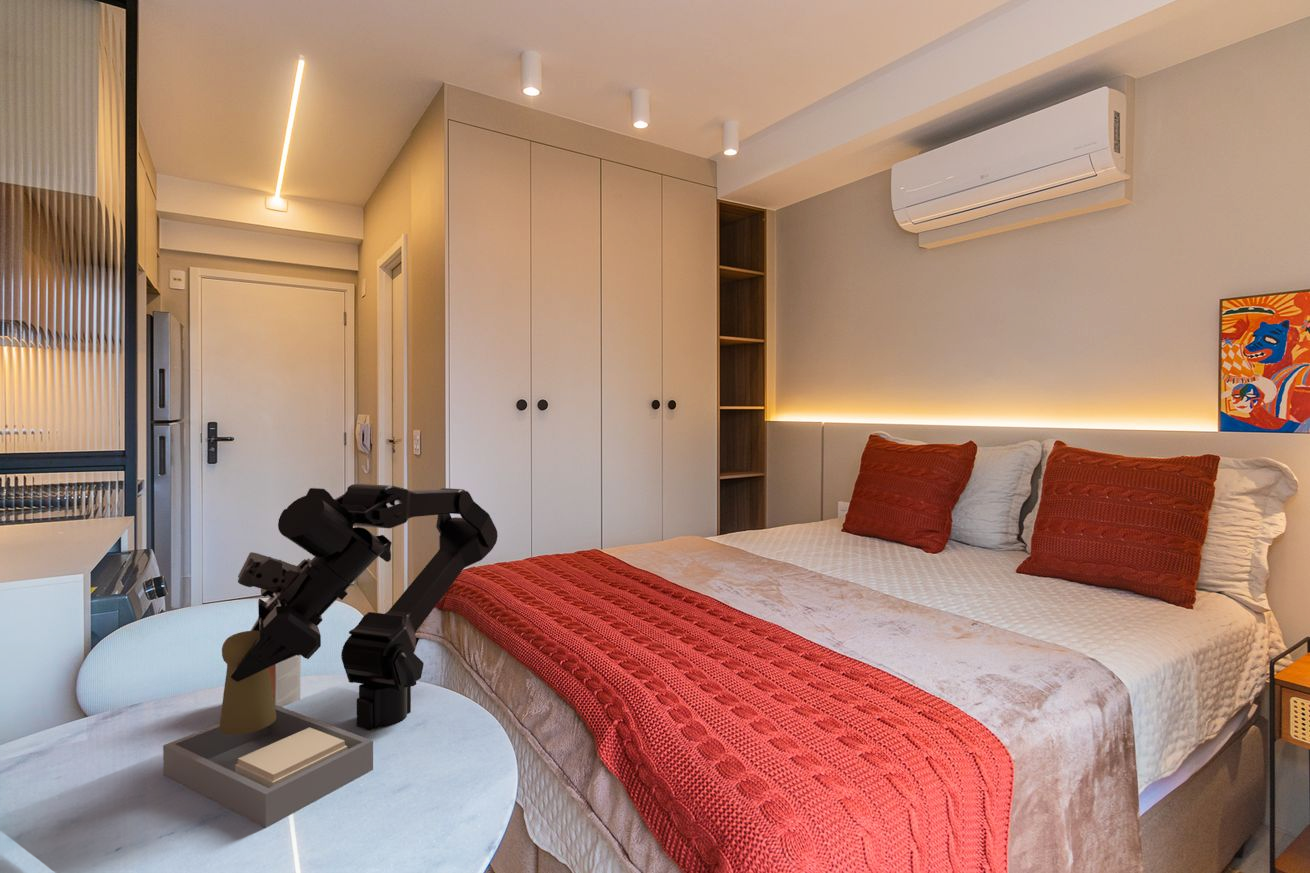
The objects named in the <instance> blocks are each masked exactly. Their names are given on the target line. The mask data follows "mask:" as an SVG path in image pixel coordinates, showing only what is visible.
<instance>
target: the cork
mask: <svg viewBox="0 0 1310 873" xmlns="http://www.w3.org/2000/svg"><path fill="white" fill-rule="evenodd" d="M259 635H260V631H255V630H254V631H251V630H246V631H241V632H237V633H234V634H232V635H230V636H229V637H227V638H226V639H225V641H224V642H223V644H222V646H221V647H222V648H221V657H222V660H223V662H225V664H226V672H225V673H226V674H225V679H224V680H225V681H224V687H223V688H224V689H223V696H222V702H221V703H222V704H221V710H220V711H221V712H220V718H219V724H220V725H219V730H220V731H221V732H222V733H225V734H231V735H238V734H246V733H251V732H255V731H258V730H261V729H263V728H265V727H267V726H269V725H271V724H272V723H273V722H274V721H275V720H276V718H277V716H276V710H275V704H274V698H273V692H272V686H271V681H270V675H269V669H268V668H266V669H264V670H262V671H260V672H258V673H256V674H254V675H251V676H249V677H247V678H245V679H243V680H241V681H239V682H237V681H235V680H233V679H232V678H231V674H232V673H233V671H234V670H235V669H236V667H237V666H238V664H239V663H240V662H241V660H242V659H243V658H244V656H245V655H246V654H247V652H248V651H249V649H250V648H251V647H252V645H253V644H254V643H255V641H256V640H257V639H258V637H259ZM227 664H228V665H227Z"/></svg>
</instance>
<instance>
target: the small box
mask: <svg viewBox="0 0 1310 873" xmlns="http://www.w3.org/2000/svg"><path fill="white" fill-rule="evenodd" d="M301 660H302V656H301V655H299V656H298V655H296V656H293V657H291V658H289V659H286V660H284V661H282V662H279V663H277V664H275V665H273V666H271V667H268V669H269V675H270V681H271V686H272V692H273V698H274V704H275V705H277V706H280V707H283V708H284V707H285V706H288V705H291V704H293V703H296V702H298V701H300V700H301V684H302V683H301V674H302V673H301V671H302V670H301V669H302V667H301V666H302V665H301V664H302V661H301ZM227 665H228V664H227V663H226V666H227Z"/></svg>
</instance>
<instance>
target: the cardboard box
mask: <svg viewBox="0 0 1310 873" xmlns="http://www.w3.org/2000/svg"><path fill="white" fill-rule="evenodd" d="M345 750H347V746H346V745H345V741H344V740H342V739H339V738H336V737H334V736H331V735H329V734H326V733H323V732H321V731H318V730H315V729H313V728H310V727H309V728H307V729H305V730H302V731H300V732H298V733H295V734H293V735H291V736H289V737H286V738H284V739H282V740H279V741H277V742H275V743H272V744H270V745H268V746H266V747H263V748H261V749H259V750H256V751H254V752H252V753H249V754H247V755H245V756H243V757H240V758H238V764H236V765H235V773H237V774H239V775H242V776H244V777H246V778H248V779H250V780H252V781H254V782H256V783H259V784H261V785H263V786H265V787H267V788H270V787H272V786H274V785H276V784H278V783H280V782H283V781H285V780H287V779H289V778H291V777H293V776H295V775H297V774H299V773H301V772H303V771H305V770H307V769H309V768H311V767H313V766H315V765H317V764H319V763H321V762H323V761H325V760H327V759H329V758H331V757H333V756H335V755H337V754H339V753H341V752H343V751H345Z"/></svg>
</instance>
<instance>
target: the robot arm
mask: <svg viewBox="0 0 1310 873" xmlns="http://www.w3.org/2000/svg"><path fill="white" fill-rule="evenodd" d="M451 514H453V515H460V516H458V517H455V516H454V517H452V516H451ZM427 516H437V518H436V525H435V528H436V530H437V531H438V533H439V536H438V540H439V547H438V548H439V549H438V551H437V552H436V553H435V554H434V556H433V557H432V558H431V559H430V560H429V561H428V563H427V564H426V565H425V566H424V568H423V569H422V570H421V571H420V573H419V574H418V575H417V576H416V577H415V579H414V580H413V581H412V582H411V584H410V585H408V587H407V588H406V589H405V591H404V592H402V594H401V595H400V597H399V598H398V599H397V600H396V601H395V602H394V603H393V605H392V606H391V608H389V610H388V611H386V612H385V613H381V612H374V611H369V612H367V613H366V614H364V615H363V617H362V618H361V620H360V621H359V623H358V624H357V625H356V626H355V627H354V628H353V629H351V630H349V631H348V634H349V636H348V638H347V639H346V640H345V642H344V644H343V646H342V650H341V656H340V658H341V662H342V665H343V668H344V671H345V674H346V677H347V680H348V682H349V683H351V684H354V683H356V684H359V685H358V697H357V698H356V727H357V728H360V729H363V730H366V731H368V732H369V731H372V730H377V729H379V728H386V727H390V726H394V725H397V724H399V723H401V722H403V721H404V720H405V719H406V718H407V717H408V714H411V710H412V707H411V706H412V705H411V702H412V699H411V697H412V694H411V693H412V687H414V686H417V682H418V681H419V680H421V679H422V674H423V670H424V669H423V668H424V661H422V660H421V659H420V658H419V656H418V655H417V654H416V653H415V652H416V633H417V632H418V630H419V629H420V627H421V626H422V625H423V623H424V622H425V621H426V619H427V618H428V617H429V615H430V614H431V613H432V611H433V610H434V609H435V607H436V606H437V605H438V603H440V601H441V600H442V598H443V597H444V596H445V594H446V593H447V591H448V590H449V589H450V587H451V586H452V585H453V584H454V583H455V581H456V579H457V578H458V577H459V576H460V574H461V573H462V571H463V570H464V569H466V568H467V567H469V566H471V565H474V564H476V563H478V562H481V561H482V560H483V559H484V558H486V556H487V555H488V554H489V553H490V552H491V551H492V550H493V549H494V547H495V545H496V544H497V541H498V536H499V535H498V530H497V528H496V525H495V523H494V522H493V519H492V517H491V516H490V514H489V513H488V512H487V511H486V510H485V509H483V508H482V507H481V506H480V505H479V504H477V503H476V501H474V499H473V497H472V496H471V494H470V492H469V491H468V490H465V489H462V488H447V487H443V488H440V489H426V490H425V489H423V490H422V489H421V490H419V489H418V490H409V489H408V488H404V487H400V486H395V485H385V484H384V485H383V484H366V483H354V484H351V485H349V486H348V487H347V490H346V492H344V493H343V494H341V495H340V496H338V497H337V498H334V497H333V496H332V495H331V493H329V491H327V490H326V489H325V488H321V487H320V488H318V487H310V488H309V490H308V491H307V493H306V494H305V495H303V496H301V497H299V498H297V499H296V500H294V501H293V502H292V503H290V505H288V506H287V508H284V509H283V510H282V512H281V514H280V516H279V518H278V524H277V528H278V531H279V533H280V534H281V535H282V536H283V537H284V538H286V539H288V540H289V541H291V542H292V543H294V544H295V545H297V546H298V547H300V548H301V549H303V550H304V551H305V552H307V553H309V554H311V555H312V559H311V558H309V557H308V558H307V559H306V558H304V559H303V560H301V561H300V563H298V564H297V565H295V564H293V563H292V564H291V563H289V562H286V561H284V560H282V559H277V558H273V557H271V556H267V555H263V554H261V553H259V552H258V553H257V552H249V554H248V556H247V558H246V559H245V561H244V563H243V565H242V567H241V570H240V572H239V574H238V575H237V578H238V579H237V583H238V584H239V585H242V586H244V587H248V588H252V587H253V588H257V589H260V595H261V596H262V597H264V598H266V597H267V596H268V599H266V601H264V600H263V599H261V598H259V599H258V601H257V602H258V603H257V604H258V606H257V607H258V609H257V610H258V617H257V619H256V621H255V623H254V624H253V626H252V628H251V629H250V631H254V630H255V631H260V635H259V637H258V639H257V640H256V641H255V643H254V644H253V645H252V647H251V648H250V649H249V651H248V652H247V654H246V655H245V656H244V658H243V659H242V660H241V662H240V663H239V664H238V666H237V667H236V669H235V670H234V671H233V673H232V674H231V678H232V679H233V680H235V681H237V682H239V681H241V680H243V679H245V678H247V677H249V676H251V675H254V674H256V673H258V672H260V671H262V670H264V669H266V668H268V667H271V666H273V665H275V664H277V663H279V662H282V661H284V660H286V659H289V658H291V657H293V656H296V655H298V656H299V655H301V657H303V658H304V659H306V660H309V659H310V658H311V657H312V656H313V655H314V654H315V653H316V652H317V651H318V650H319V649H320V648H321V646H322V645H321V644H322V640H321V639H322V638H321V637H322V635H321V632H320V629H319V625H320V624H321V623H322V622H323V617H322V615H323V614H324V613H325V612H326V611H328V609H329V608H330V607H331V606H332V605H333V604H334V603H335V602H336V601H337V600H338V599H340V601H343V600H344V599H345V598H346V596H348V592H347V589H348V588H349V587H350V586H351V585H352V584H353V583H354V582H355V581H356V580H357V579H358V578H359V577H360V576H361V575H362V574H363V573H364V572H365V571H366V570H367V569H368V567H369V566H370V565H371V564H372V563H374V561H375V560H376V559H377V558H378V557H379V558H380V559H382V560H383V561H385V563H389V562H391V560H392V553H391V546H392V544H393V543H392V541H391V540H389V538H387V537H386V536H385V535H384V534H381V535H374V534H373V533H372V532H371V531H369V530H368V529H367V528H375V529H377V528H379V529H393V528H396V527H398V526H401V525H403V524H406V523H407V522H408V521H409V519H412V518H415V517H427ZM364 527H365V528H364Z"/></svg>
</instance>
